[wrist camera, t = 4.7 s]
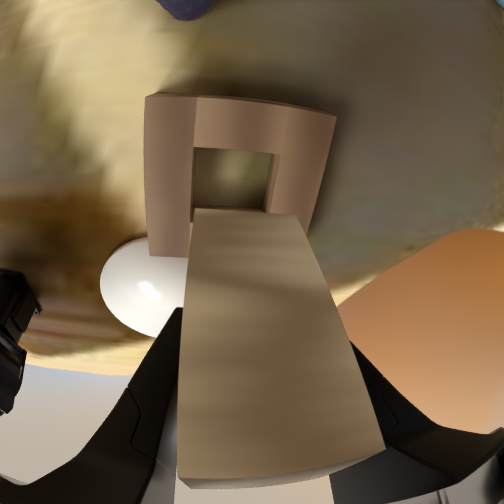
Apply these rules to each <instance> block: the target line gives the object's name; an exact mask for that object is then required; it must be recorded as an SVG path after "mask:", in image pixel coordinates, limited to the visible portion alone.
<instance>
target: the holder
mask: <svg viewBox="0 0 504 504" xmlns="http://www.w3.org/2000/svg"><path fill="white" fill-rule="evenodd" d="M336 120H337V117H336V116H334V115H332V114H330V113H328V112H326V111H324V110H320V109H315V108H310V107H305V106H300V105H294V104H289V103H283V102H276V101H269V100H262V99H254V98H246V97H236V96H225V95H211V94H190V93H154V94H152V95H149V96H147V97H145V110H144V187H145V207H146V222H147V235H148V246H149V256H159V257H179V258H189V249H190V242H191V234H192V227H193V220H194V213H195V208H201V209H219V210H235V211H250V212H264V213H276V214H288V215H296V216H297V218H298V220H299V222H300V224H301V227H302V229H303V231H304V233H305V235H307V232H308V228H309V225H310V221H311V218H312V214H313V211H314V207H315V203H316V200H317V196H318V192H319V188H320V185H321V181H322V177H323V173H324V169H325V165H326V161H327V157H328V153H329V149H330V145H331V141H332V137H333V133H334V128H335V124H336ZM196 147H205V148H221V149H234V150H245V151H255V152H264V153H272V156H271V161H270V167H269V173H268V178H267V184H266V190H265V195H264V201H263V207H262V209H250V208H235V207H219V206H201V205H193V188H194V169H195V153H196Z"/></svg>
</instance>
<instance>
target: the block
mask: <svg viewBox="0 0 504 504" xmlns="http://www.w3.org/2000/svg"><path fill="white" fill-rule="evenodd" d="M385 449H386V448H385V444H384V441H383V438H382V434H381V431H380V428H379V425H378V421H377V418H376V415H375V412H374V409H373V406H372V403H371V400H370V397H369V394H368V391H367V388H366V385H365V382H364V380H363V377H362V374H361V371H360V368H359V366H358V363H357V360H356V357H355V355H354V352H353V349H352V346H351V344H350V341H349V339H348V336H347V334H346V331H345V328H344V326H343V323H342V320H341V318H340V316H339V313H338V311H337V308H336V305H335V303H334V301H333V298H332V296H331V293H330V291H329V288H328V286H327V284H326V281H325V279H324V276H323V274H322V272H321V269H320V267H319V265H318V262H317V260H316V258H315V256H314V253H313V251H312V249H311V246H310V244H309V242H308V240H307V238H306V235H305V233H304V231H303V229H302V227H301V224H300V222H299V220H298V218H297V216H296V215H288V214H276V213H264V212H250V211H235V210H219V209H201V208H195V213H194V220H193V227H192V234H191V242H190V249H189V258H188V266H187V275H186V284H185V294H184V305H183V316H182V329H181V342H180V358H179V377H178V405H177V473H178V478H179V479H180V480H181V481H183V482H184V483H185V484H186V485H187V486H188V487H189V488H191V489H238V488H253V487H265V486H273V485H281V484H288V483H294V482H300V481H306V480H311V479H316V478H320V477H323V476H326V475H329V474H331V473H334V472H337V471H339V470H342V469H344V468H347V467H349V466H351V465H354V464H356V463H358V462H360V461H363V460H365V459H367V458H369V457H371V456H373V455H375V454H377V453H379V452H381V451H383V450H385Z"/></svg>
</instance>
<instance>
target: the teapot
mask: <svg viewBox="0 0 504 504" xmlns="http://www.w3.org/2000/svg"><path fill="white" fill-rule="evenodd" d="M496 2H497V3H498V4H499V5H500V6H501V7H502V8H503V9H504V0H496Z"/></svg>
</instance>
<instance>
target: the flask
mask: <svg viewBox="0 0 504 504" xmlns="http://www.w3.org/2000/svg"><path fill="white" fill-rule="evenodd" d="M156 1H157V2H159V3H160V4H161V6H162V7H163V8H164V9H165V10H167V11H168V12H169V13H170V14H171V15H172V16H173V19H177V20H182V21H185V22H188V21H195V20H197V19H199V18H200V17H202V16H203V15H204V13H206V12H207V11H209V10H210V9H211V8H212V6H213V5H214V4H215V2H216V1H217V0H156Z"/></svg>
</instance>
